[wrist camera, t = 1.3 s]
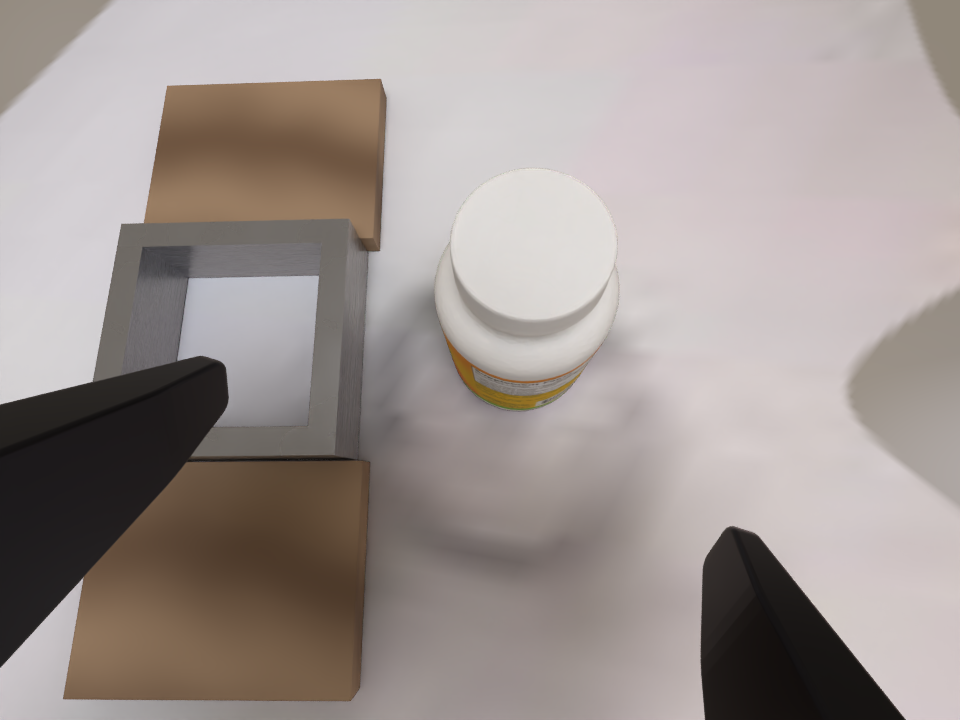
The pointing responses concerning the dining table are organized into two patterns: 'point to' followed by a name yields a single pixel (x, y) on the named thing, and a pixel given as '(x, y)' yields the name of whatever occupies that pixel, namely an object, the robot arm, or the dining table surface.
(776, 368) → the dining table surface
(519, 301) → the supplement bottle
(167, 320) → the grey square frame
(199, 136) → the brown flat rectangular board
